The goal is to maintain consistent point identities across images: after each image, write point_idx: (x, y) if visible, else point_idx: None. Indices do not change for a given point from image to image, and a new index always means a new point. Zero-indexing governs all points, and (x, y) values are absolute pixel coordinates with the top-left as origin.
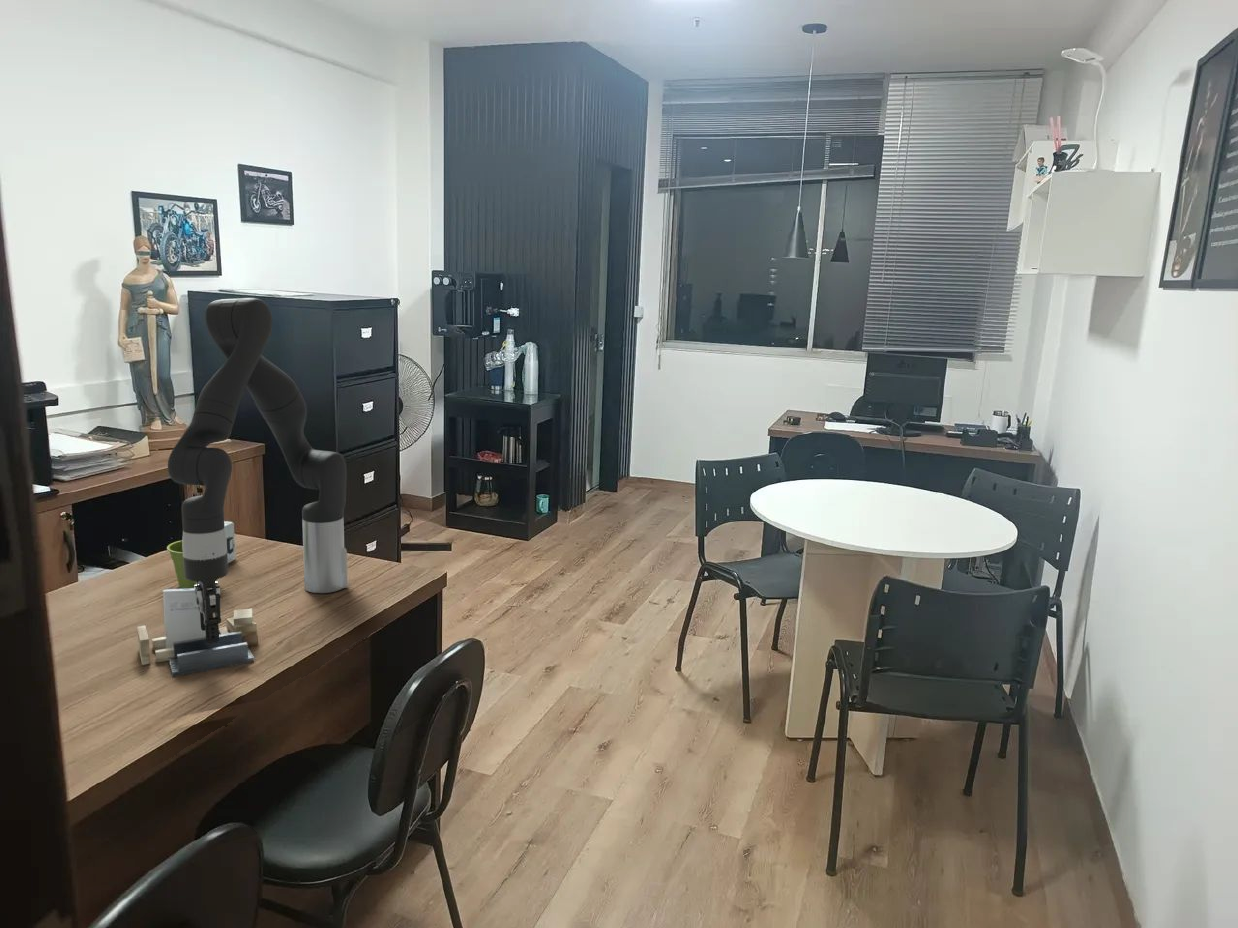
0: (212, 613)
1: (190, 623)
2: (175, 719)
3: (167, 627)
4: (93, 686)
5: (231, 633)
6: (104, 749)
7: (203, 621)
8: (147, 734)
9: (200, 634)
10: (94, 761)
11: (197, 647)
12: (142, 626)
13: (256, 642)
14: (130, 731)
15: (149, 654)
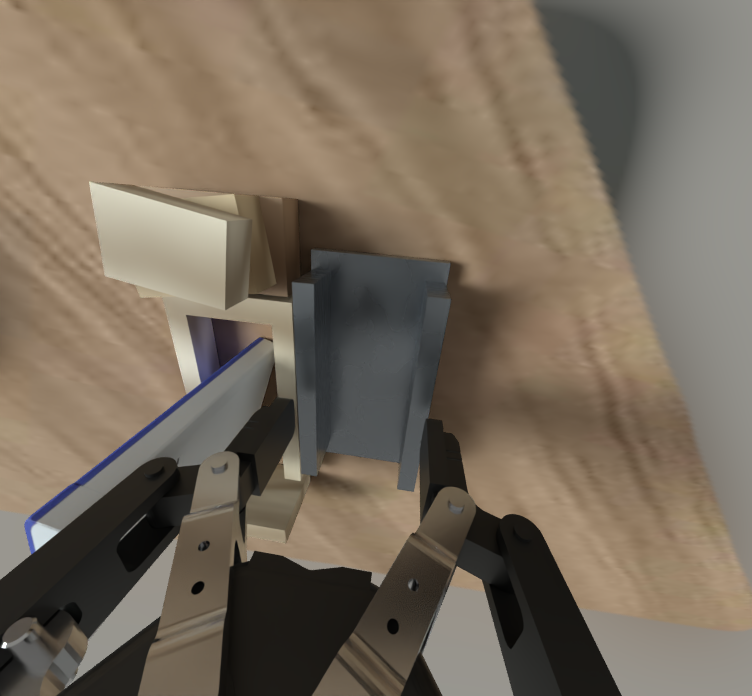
0: (260, 445)
1: (215, 442)
2: (653, 506)
3: None
4: (371, 550)
5: (301, 320)
6: (656, 596)
7: (280, 452)
8: (669, 551)
9: (247, 393)
10: (686, 612)
11: (324, 410)
12: None
13: (295, 206)
14: (625, 562)
15: (301, 489)
